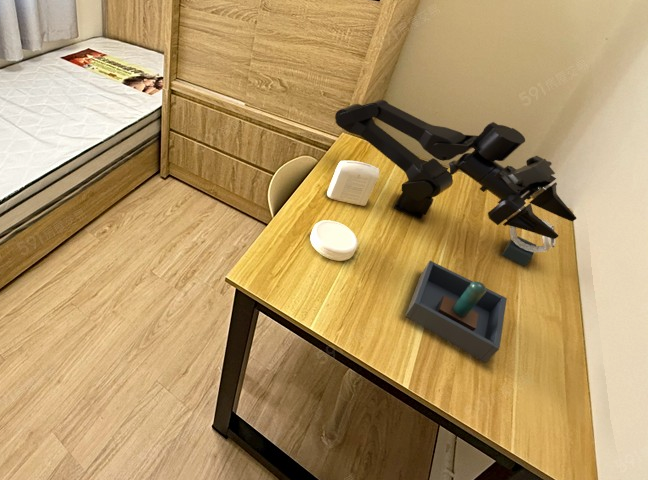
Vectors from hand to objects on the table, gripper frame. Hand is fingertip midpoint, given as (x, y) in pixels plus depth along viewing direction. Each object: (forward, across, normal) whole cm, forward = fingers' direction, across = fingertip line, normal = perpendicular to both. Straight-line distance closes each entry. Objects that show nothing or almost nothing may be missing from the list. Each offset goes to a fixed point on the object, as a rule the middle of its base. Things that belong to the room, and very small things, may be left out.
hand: (565, 228), depth 81 cm
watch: (0, +7, +17) cm, 18 cm away
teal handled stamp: (0, -25, +16) cm, 30 cm away
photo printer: (-33, -12, +23) cm, 42 cm away
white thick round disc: (-24, -29, +22) cm, 44 cm away
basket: (0, -24, +17) cm, 29 cm away
